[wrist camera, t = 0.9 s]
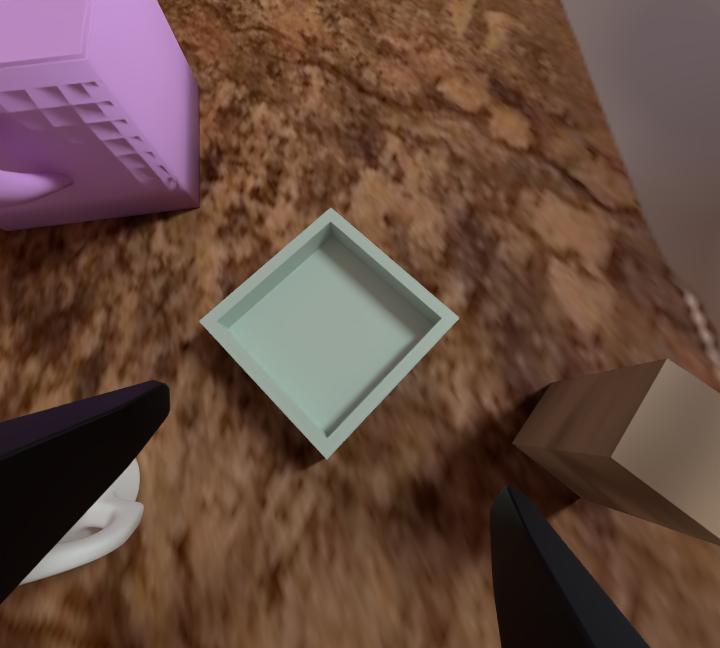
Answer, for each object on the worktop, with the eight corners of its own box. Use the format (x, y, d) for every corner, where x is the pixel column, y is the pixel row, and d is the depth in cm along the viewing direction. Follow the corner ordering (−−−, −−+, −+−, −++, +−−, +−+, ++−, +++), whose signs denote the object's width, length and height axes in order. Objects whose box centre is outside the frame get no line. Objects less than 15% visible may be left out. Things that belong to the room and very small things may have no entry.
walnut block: (618, 432, 22) (787, 438, 13) (580, 497, 21) (737, 551, 12) (551, 382, 23) (667, 358, 14) (511, 443, 22) (610, 456, 13)
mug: (17, 537, 20) (-438, 687, 9) (62, 423, 22) (-262, 423, 11) (175, 570, 20) (-87, 776, 8) (208, 450, 22) (33, 482, 10)
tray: (449, 328, 24) (459, 317, 21) (330, 455, 21) (326, 459, 19) (333, 227, 26) (330, 207, 24) (215, 331, 24) (198, 321, 21)
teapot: (199, 32, 33) (84, -242, 19) (200, 263, 26) (18, 84, 12) (40, 49, 32) (-192, -219, 19) (-3, 289, 25) (-428, 134, 12)
